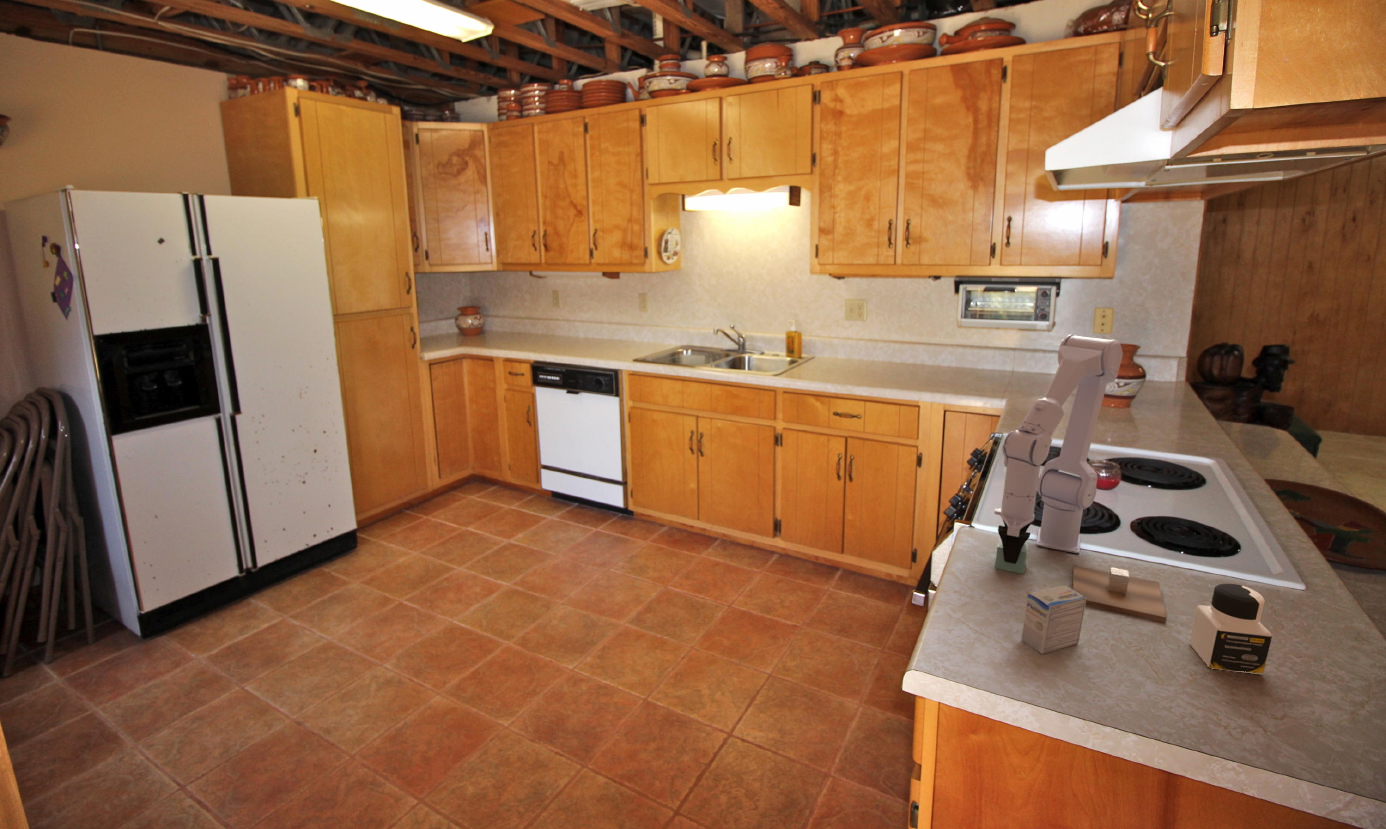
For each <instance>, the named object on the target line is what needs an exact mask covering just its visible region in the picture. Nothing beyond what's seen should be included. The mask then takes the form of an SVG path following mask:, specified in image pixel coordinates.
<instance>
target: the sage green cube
mask: <svg viewBox="0 0 1386 829" xmlns="http://www.w3.org/2000/svg"><path fill="white" fill-rule="evenodd" d="M1028 547H1029V542H1027V541H1026V542H1025V544H1024V545H1023V547H1022V549H1021V552H1020V555H1019V558H1018V560H1017V562H1016V564H1013V563H1008V562H1005V561H1004V556H1003V545H1002V541H1001V538H1000V537H999V539H998V544H997V548H996V555H995V556H996V557H995V564H994V565H995V566H994V569H999V570H1002V571H1009V572H1012V573H1016V574H1017V573H1018V574H1022V575H1024V573H1025V569H1026V563H1027V557H1028V556H1027V555H1028V550H1029V549H1028Z"/></svg>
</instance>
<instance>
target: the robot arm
mask: <svg viewBox="0 0 1386 829" xmlns="http://www.w3.org/2000/svg"><path fill="white" fill-rule="evenodd" d="M1123 355H1124V354H1123V349H1122V345H1121V343H1120V342H1119V340H1117V339H1105V338H1096V337H1089V336H1080V335H1075V334H1068V335H1066V336H1065V337H1064V338H1063V339H1062V341H1061V342H1060V343H1059V347H1058V352H1057V363H1058V367H1057V369H1056V372H1055V373H1054V376H1053V378H1052V380H1051V382H1050V384H1049V386H1048V388H1047V390H1046V392H1045V395H1044V396H1043V397H1042V398H1039V399H1036V400H1035V401H1034V402H1033V403H1032V405H1031V406H1030V409H1029V410H1028V412H1027V413H1026V415H1025V417H1024V418H1023V420H1022V421H1021V423H1020V424H1019V426H1018V428H1017V429H1015V430H1014V431H1013V430H1012V431H1010V432H1009V433H1008V434H1007V435H1006V437H1005V439H1004V442H1003V444H1002V447H1001V448H1002V449H1001V450H1002V451H1001V452H1002V455H1003V458H1004V461H1003V465H1004V467H1005V468H1006V469H1005V479H1004V486H1003V494H1002V504H1001V507H1000V508H999V507H995V508H994V512H993V513H994V515H998V516H1000V518H1001V519H1002V522H1003V525H998V527H997V533H998V535H999V539H1000V538H1001V541H1002V545H1003V556H1004V561H1005V562H1008V563H1013V564H1016V562H1017V560H1018V558H1019V555H1020V552H1021V549H1022V547H1023V545H1024V544H1025V542H1027V541H1028V540H1029V538H1030V536H1031V532H1029V531H1028V529H1029V527H1030V526H1031V525H1032V523H1033V522H1034V520H1035V514H1034V513H1035V507H1036V499H1037V493H1038V495H1039V496H1040V497H1041V502H1043V504H1044V505H1043V510H1042V519H1041V524H1040V527H1039V528H1038V533H1037V536H1036V546H1037V547H1041V548H1042V547H1044V548H1049V549H1053V550H1057V551H1062V552H1063V551H1064V552H1068V553H1072V554H1073V553H1074V554H1080V551H1081V550H1080V547H1081V542H1080V539H1081V536H1080V530H1081V524H1082V518H1083V512H1084V511H1083V510H1086V509H1087V508H1088V507H1091V505H1092V504H1093V502H1094V500H1095V498H1096V495H1097V482H1098V477H1099V476H1098V473H1097V472H1095V469H1093V468H1092V466H1090V464H1089V463H1088V462H1087V460H1088V455H1089V452H1090V448H1091V445H1092V441H1093V437H1094V433H1095V430H1096V426H1097V422H1098V419H1099V416H1100V411H1101V407H1102V404H1103V401H1104V396H1105V393H1106V390H1107V385H1108V384H1110V383H1114V382H1115V381H1116V379H1117V376H1118V374H1119V370H1120V366H1121V363H1122V359H1123ZM1075 390H1076V391H1075ZM1074 391H1075V392H1076V393H1075V396H1074V400H1073V404H1072V408H1071V411H1070V415H1069V419H1068V422H1067V427H1066V431H1065V433H1064V434H1065V435H1064V438H1063V442H1062V446H1061V449H1060V453H1059V456H1058V457H1055V458H1053V459H1050V460H1049V461H1046V462H1045V460H1047V458H1048V456H1049V452H1050V447H1051V445H1052V444H1053V443H1052V441H1053V439H1052V436H1053V435H1054V432H1056V430H1057V428H1058V426H1059V424H1060V422H1061V421H1062V420H1063V418H1064V416H1065V412H1064V409H1063V406H1064V404H1065V403H1066V401H1067V400H1068V398H1070V396H1071V395H1072V393H1073V392H1074ZM1044 462H1045V464H1044V466H1043V469H1042V471H1041V473H1040V469H1041V465H1043V463H1044Z"/></svg>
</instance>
